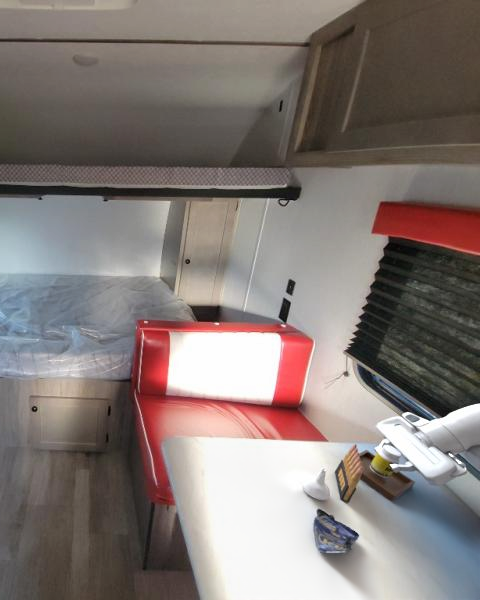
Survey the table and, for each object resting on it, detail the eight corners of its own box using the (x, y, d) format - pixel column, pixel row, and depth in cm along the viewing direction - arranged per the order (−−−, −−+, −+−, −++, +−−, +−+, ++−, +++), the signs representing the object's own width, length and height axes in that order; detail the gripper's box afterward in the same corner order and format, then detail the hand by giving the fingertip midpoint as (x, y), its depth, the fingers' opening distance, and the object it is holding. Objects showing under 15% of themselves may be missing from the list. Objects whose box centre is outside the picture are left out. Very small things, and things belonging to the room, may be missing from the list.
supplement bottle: (382, 479, 95) (395, 457, 92) (365, 466, 99) (377, 444, 96) (393, 477, 97) (407, 455, 93) (376, 463, 101) (389, 442, 98)
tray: (411, 487, 96) (415, 482, 96) (391, 501, 91) (394, 496, 90) (363, 454, 106) (366, 449, 106) (342, 465, 101) (345, 460, 100)
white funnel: (307, 500, 88) (318, 478, 85) (296, 480, 94) (306, 459, 91) (331, 505, 88) (344, 483, 85) (319, 484, 94) (330, 463, 91)
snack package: (288, 516, 84) (329, 566, 73) (300, 497, 82) (344, 546, 71) (323, 516, 87) (367, 565, 76) (336, 498, 85) (383, 545, 74)
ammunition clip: (348, 503, 89) (367, 470, 85) (340, 499, 90) (359, 466, 85) (342, 474, 98) (359, 443, 93) (334, 471, 99) (351, 440, 94)
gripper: (477, 479, 83) (417, 499, 87) (411, 421, 102) (364, 441, 106) (468, 463, 82) (408, 484, 86) (402, 408, 101) (355, 428, 105)
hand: (383, 460), depth 96 cm, fingers closed on supplement bottle, 5 cm apart
